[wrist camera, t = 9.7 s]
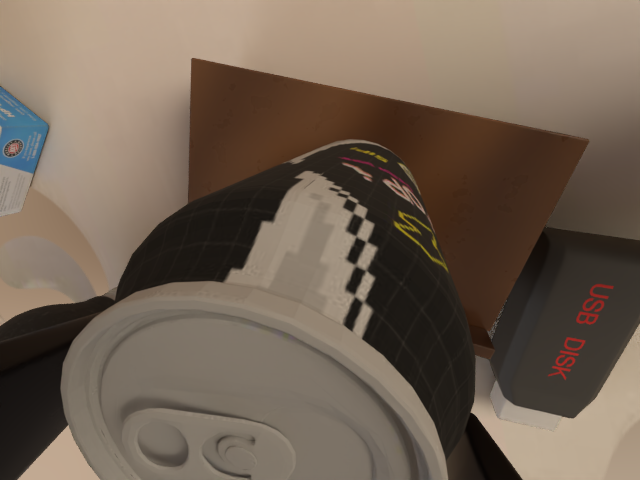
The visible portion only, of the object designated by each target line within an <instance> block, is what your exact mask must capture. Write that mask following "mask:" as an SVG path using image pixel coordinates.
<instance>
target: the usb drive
mask: <svg viewBox="0 0 640 480" xmlns="http://www.w3.org/2000/svg"><path fill="white" fill-rule="evenodd" d="M639 324H640V241H639V240H632V239H625V238H618V237H611V236H603V235H596V234H589V233H582V232H575V231H567V230H560V229H553V228H546V227H544V229H543V231H542V233H541V235H540V236H539V238H538V240H537V242H536V244H535V246H534V248H533V250H532V252H531V254H530V256H529V257H528V259H527V261H526V263H525V265H524V267H523V269H522V271H521V273H520V275H519V277H518V278H517V280H516V282H515V284H514V286H513V288H512V290H511V292H510V294H509V296H508V299H507V302H506V304H505V307H504V310H503V312H502V315H501V318H500V320H499V323H498V326H497V328H496V331H495V334H494V336H493V339H492V344H493V346H494V348H495V352H494V354H493V355H492V357H491V359H489V360H490V363H491V367H492V370H493V372H494V375H495V377H496V381H495V383H494V386H493V388H492V391H491V393H490V399H491V401H492V404H493V407H494V410H495V413H496V416H497V417H498V418H499V419H502V420H506V421H511V422H515V423H519V424H523V425H528V426H532V427H536V428H540V429H545V430H549V431H553V432H554V431H555V430H556V428H557V426H558V424H559V422H560V420H561V419H562V417H567V418H575V417H576V416H577V415H578V414H579V413H580V412H581V411H582V410H583V409H584V408H585V407H586V406H588V405H589V404H590V403H591V402H592V401H593V400H594V399H595V398H596V396H597V395H598V393H599V392H600V390H601V388H602V387H603V385H604V383H605V381H606V380H607V378H608V376H609V375H610V373H611V371H612V370H613V368H614V366H615V364H616V363H617V361H618V359H619V358H620V356H621V354H622V352H623V351H624V349H625V347H626V346H627V344H628V342H629V341H630V339H631V337H632V335H633V334H634V332H635V330H636V329H637V327H638V325H639Z"/></svg>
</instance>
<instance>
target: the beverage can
mask: <svg viewBox="0 0 640 480" xmlns="http://www.w3.org/2000/svg"><path fill="white" fill-rule="evenodd" d="M60 389H61V395H62V402H63V408H64V414H65V417H66V420H67V422H68V425H69V428H70V430H71V433H72V436H73V438H74V440H75V442H76V444H77V446H78V447H79V449H80V451H81V452H82V454H83V456H84V458H85V459H86V461H87V463H88V464H89V466H90V467H91V468H92V469H93V471H94V472H95V473H96V474H97V476H98V477H99V478H100V480H448V474H447V467H446V460H447V459H448V457H449V456H450V454H451V453H452V451H453V450H454V448H455V447H456V445H457V444H458V442H459V441H460V439H461V437H462V435H463V433H464V431H465V428H466V425H467V422H468V419H469V415H470V412H471V409H472V406H473V403H474V394H475V351H474V346H473V342H472V338H471V334H470V330H469V326H468V322H467V318H466V314H465V311H464V308H463V306H462V303H461V300H460V298H459V295H458V292H457V290H456V287H455V284H454V282H453V279H452V276H451V274H450V271H449V268H448V266H447V263H446V260H445V258H444V255H443V252H442V250H441V247H440V244H439V242H438V239H437V236H436V234H435V231H434V229H433V226H432V223H431V221H430V218H429V215H428V213H427V210H426V207H425V205H424V202H423V199H422V197H421V194H420V191H419V189H418V186H417V183H416V181H415V179H414V177H413V175H412V173H411V171H410V170H409V168H408V167H407V166H406V165H405V163H404V162H403V161H402V160H401V159H400V158H399V157H398V156H397V155H395V154H394V153H393V152H392V151H390V150H389V149H387V148H385V147H383V146H381V145H379V144H376V143H373V142H369V141H365V140H353V139H349V140H342V141H336V142H333V143H330V144H328V145H325V146H323V147H320V148H318V149H315V150H313V151H311V152H308V153H306V154H303V155H301V156H299V157H296V158H294V159H292V160H289V161H287V162H284V163H282V164H280V165H277V166H275V167H273V168H270V169H268V170H265V171H263V172H261V173H258V174H256V175H253V176H251V177H249V178H246V179H244V180H242V181H239V182H237V183H234V184H232V185H230V186H227V187H225V188H223V189H220V190H218V191H215V192H213V193H211V194H208V195H206V196H203V197H201V198H199V199H196V200H194V201H192V202H190V203H189V204H187V205H186V206H184V207H183V208H181V209H180V210H178V211H177V212H175V213H174V214H172V215H171V216H169V217H168V218H166V219H165V220H164V221H162V222H161V223H160V224H159V225H158V226H157V227H156V228H155V229H154V230H153V231H152V232H151V233H150V235H149V236H148V237H147V238H146V239H145V240H144V241H143V243H142V244H141V245H140V246H139V247H138V248H137V249H136V251H135V252H134V253H133V254H132V256H131V258H130V260H129V263H128V265H127V267H126V269H125V271H124V273H123V275H122V277H121V279H120V282H119V285H118V288H117V291H116V297H115V302H114V305H113V306H111V307H109V308H108V309H106V310H105V311H103V312H102V313H100V314H99V315H97V316H96V317H94V318H93V319H92V321H91V322H90V323H89V324H88V325H87V326H86V327H85V328H84V329H83V330H82V331H81V332H80V334H79V335H78V336H77V337H76V338H75V339H74V340H73V342H72V344H71V346H70V348H69V351H68V353H67V355H66V358H65V360H64V362H63V368H62V377H61V387H60Z"/></svg>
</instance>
